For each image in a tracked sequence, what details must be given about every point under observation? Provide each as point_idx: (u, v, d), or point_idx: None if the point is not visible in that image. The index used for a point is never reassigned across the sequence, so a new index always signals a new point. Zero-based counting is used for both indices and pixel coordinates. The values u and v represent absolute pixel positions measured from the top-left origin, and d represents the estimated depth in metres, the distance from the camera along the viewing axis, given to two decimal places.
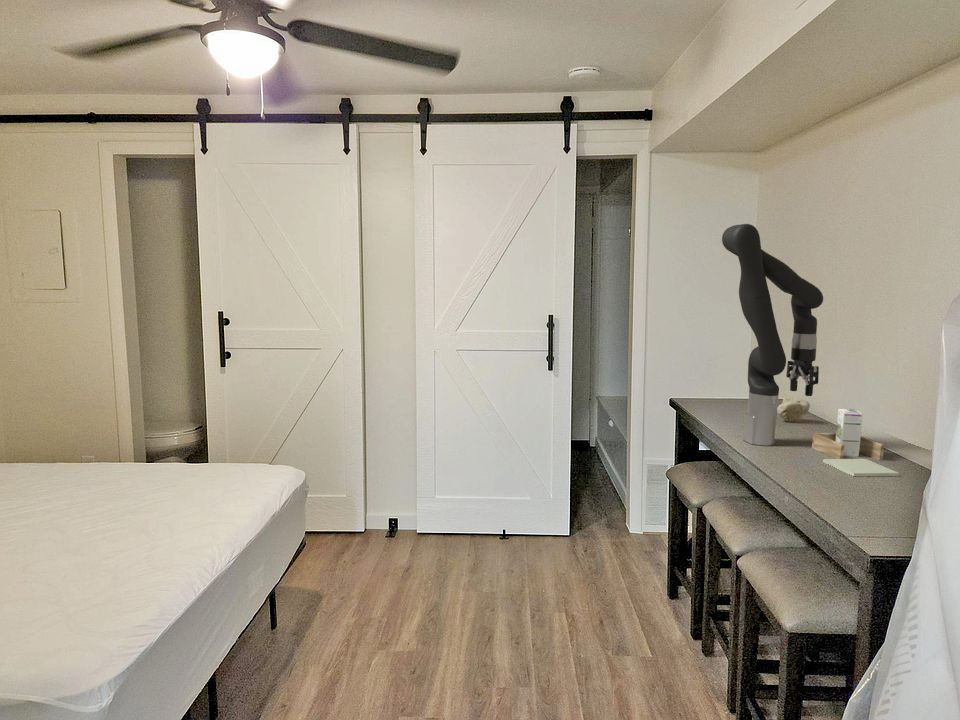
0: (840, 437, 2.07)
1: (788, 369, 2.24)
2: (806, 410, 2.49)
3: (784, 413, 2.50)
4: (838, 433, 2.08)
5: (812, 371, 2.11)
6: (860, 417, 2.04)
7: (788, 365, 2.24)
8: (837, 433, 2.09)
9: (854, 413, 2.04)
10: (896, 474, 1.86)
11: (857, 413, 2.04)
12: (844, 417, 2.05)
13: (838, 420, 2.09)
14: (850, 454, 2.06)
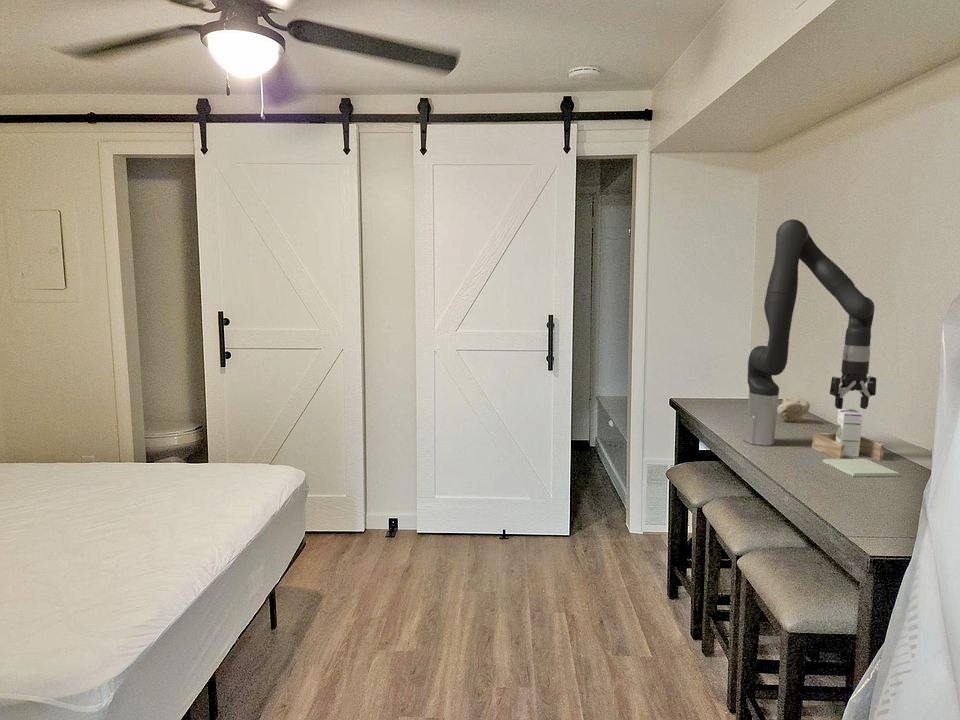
0: (840, 437, 2.07)
1: (837, 387, 2.04)
2: (806, 410, 2.49)
3: (784, 413, 2.50)
4: (838, 433, 2.08)
5: None
6: (860, 417, 2.04)
7: (838, 382, 2.04)
8: (837, 433, 2.09)
9: (854, 413, 2.04)
10: (896, 474, 1.86)
11: (857, 413, 2.04)
12: (844, 417, 2.05)
13: (838, 420, 2.09)
14: (850, 454, 2.06)
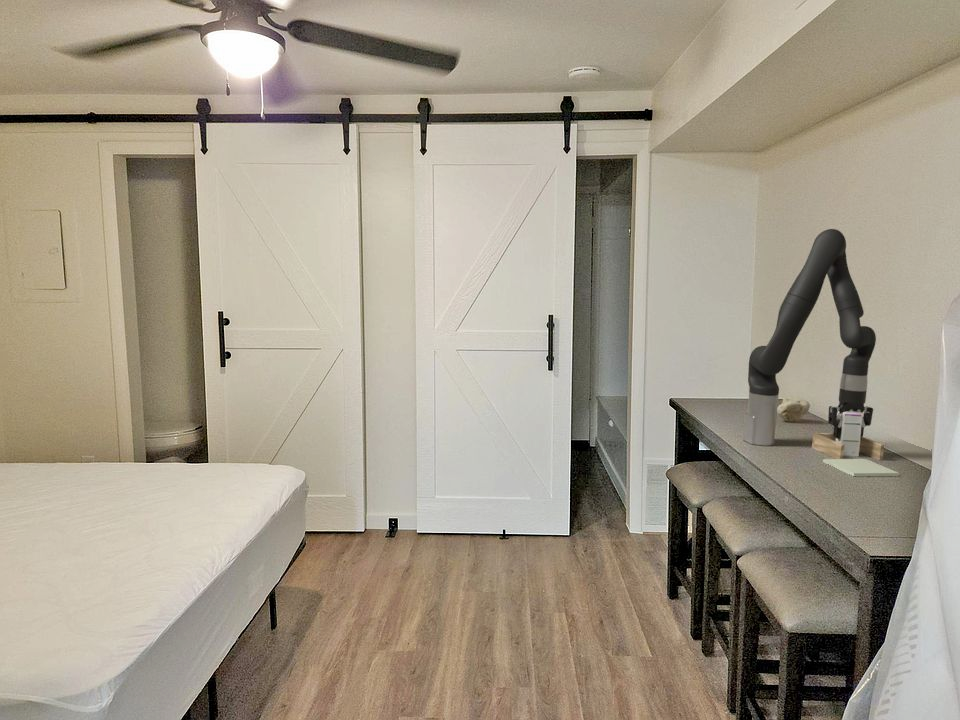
0: None
1: (835, 416, 2.05)
2: (806, 410, 2.49)
3: (784, 413, 2.50)
4: None
5: None
6: (860, 417, 2.04)
7: (835, 412, 2.05)
8: None
9: (854, 413, 2.04)
10: (896, 474, 1.86)
11: (857, 413, 2.04)
12: (844, 417, 2.05)
13: None
14: (850, 454, 2.06)
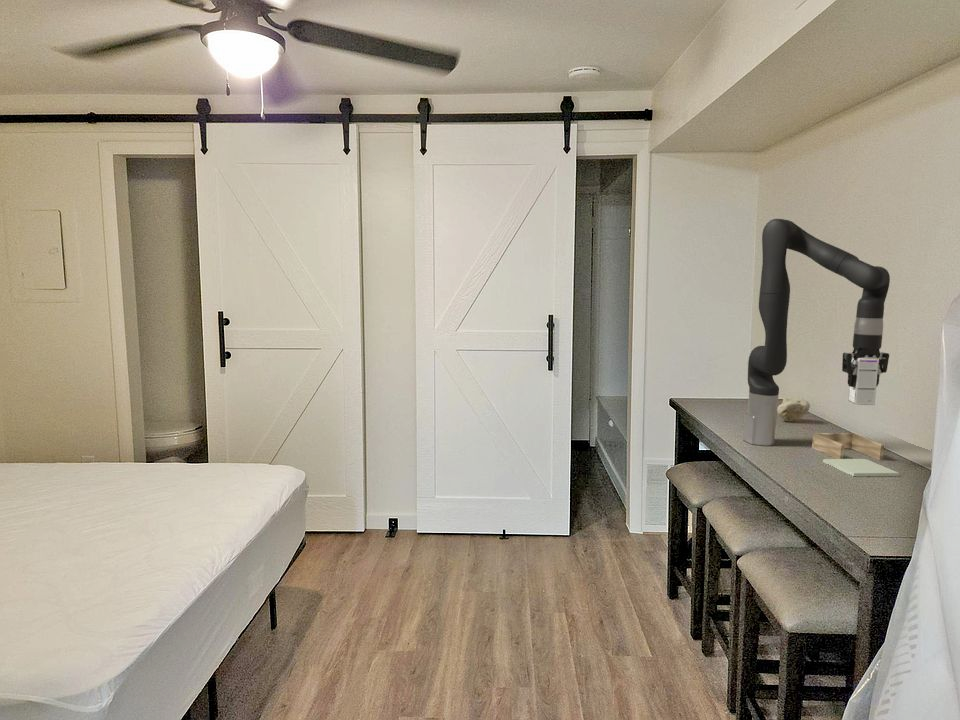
0: None
1: (850, 363, 1.93)
2: (806, 410, 2.49)
3: (784, 413, 2.50)
4: None
5: None
6: (876, 363, 1.92)
7: (849, 358, 1.93)
8: None
9: (870, 359, 1.92)
10: (896, 474, 1.86)
11: (873, 359, 1.92)
12: (859, 364, 1.93)
13: None
14: (866, 403, 1.94)
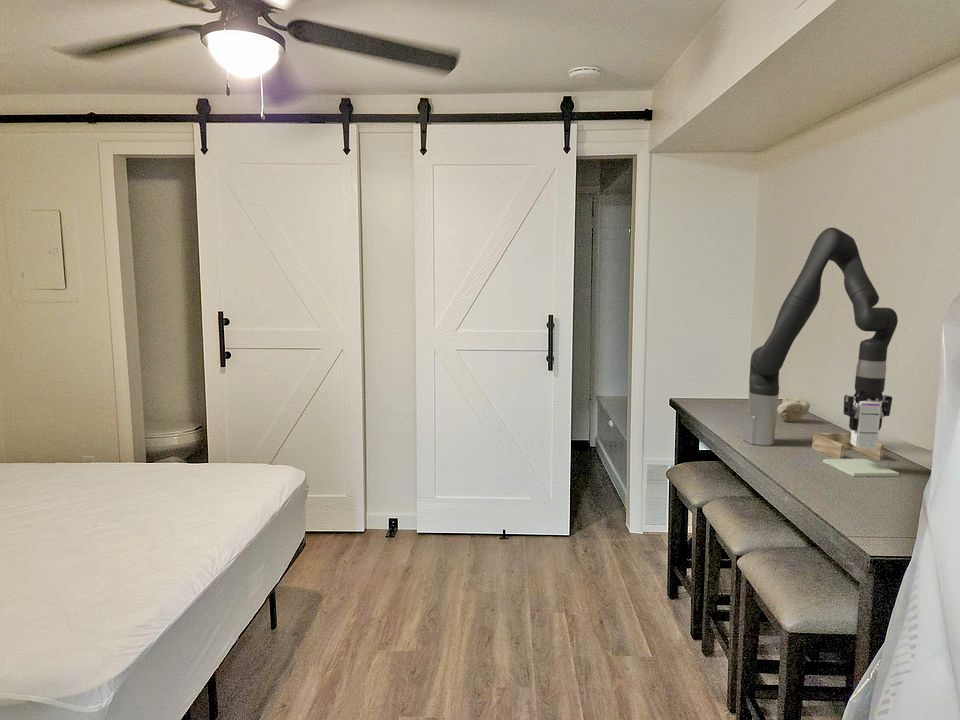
0: (857, 429, 1.89)
1: (851, 406, 1.88)
2: (806, 410, 2.49)
3: (784, 413, 2.50)
4: None
5: None
6: (878, 407, 1.87)
7: (851, 402, 1.88)
8: None
9: (872, 402, 1.87)
10: (896, 474, 1.86)
11: (875, 402, 1.87)
12: (861, 407, 1.88)
13: None
14: (868, 447, 1.89)
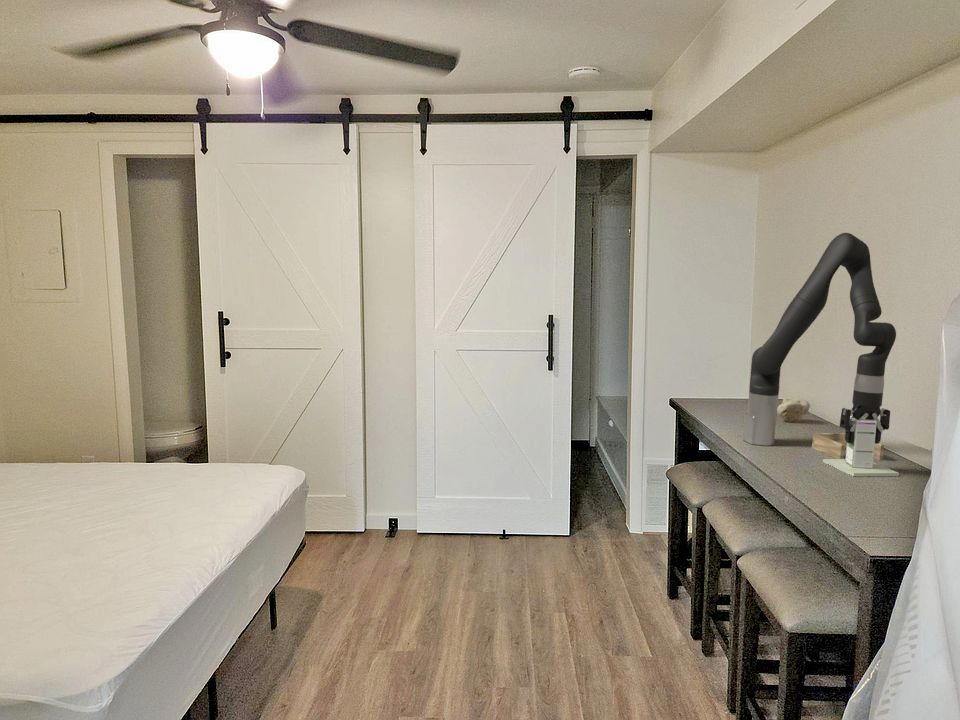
0: (852, 447, 1.90)
1: (848, 419, 1.88)
2: (806, 410, 2.49)
3: (784, 413, 2.50)
4: None
5: None
6: (874, 425, 1.88)
7: (848, 415, 1.88)
8: (848, 443, 1.93)
9: (868, 421, 1.88)
10: (896, 474, 1.86)
11: (871, 421, 1.88)
12: (857, 426, 1.88)
13: None
14: (863, 466, 1.89)
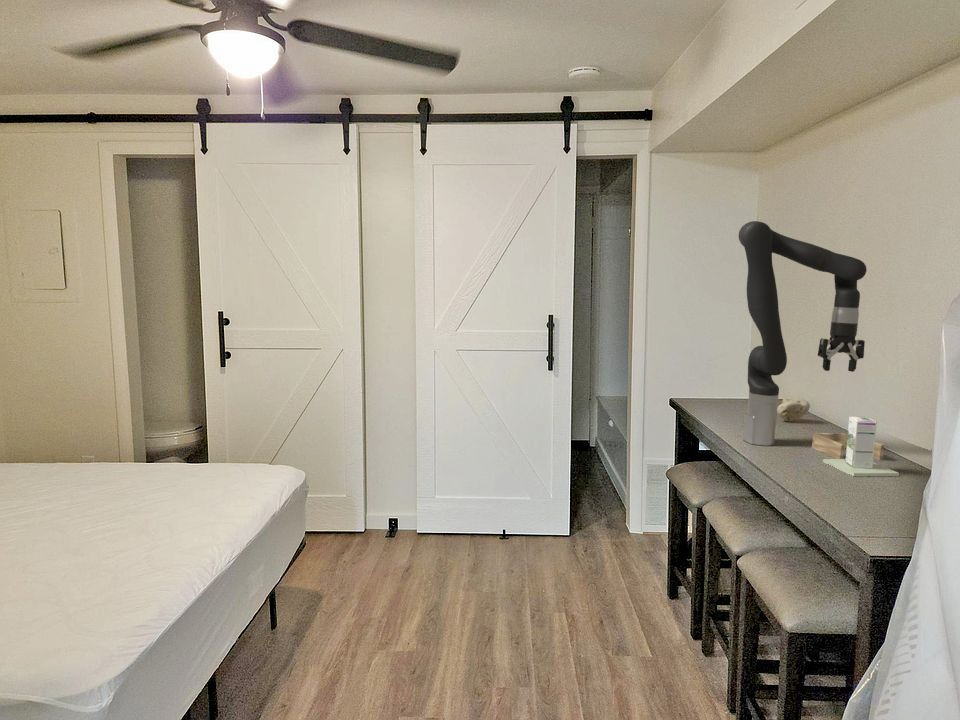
0: (853, 448, 1.90)
1: (825, 348, 2.06)
2: (806, 410, 2.49)
3: (784, 413, 2.50)
4: (850, 443, 1.92)
5: None
6: (874, 426, 1.87)
7: (825, 344, 2.06)
8: (848, 443, 1.93)
9: (868, 422, 1.87)
10: (896, 474, 1.86)
11: (871, 421, 1.87)
12: (857, 427, 1.88)
13: (849, 429, 1.92)
14: (863, 466, 1.89)
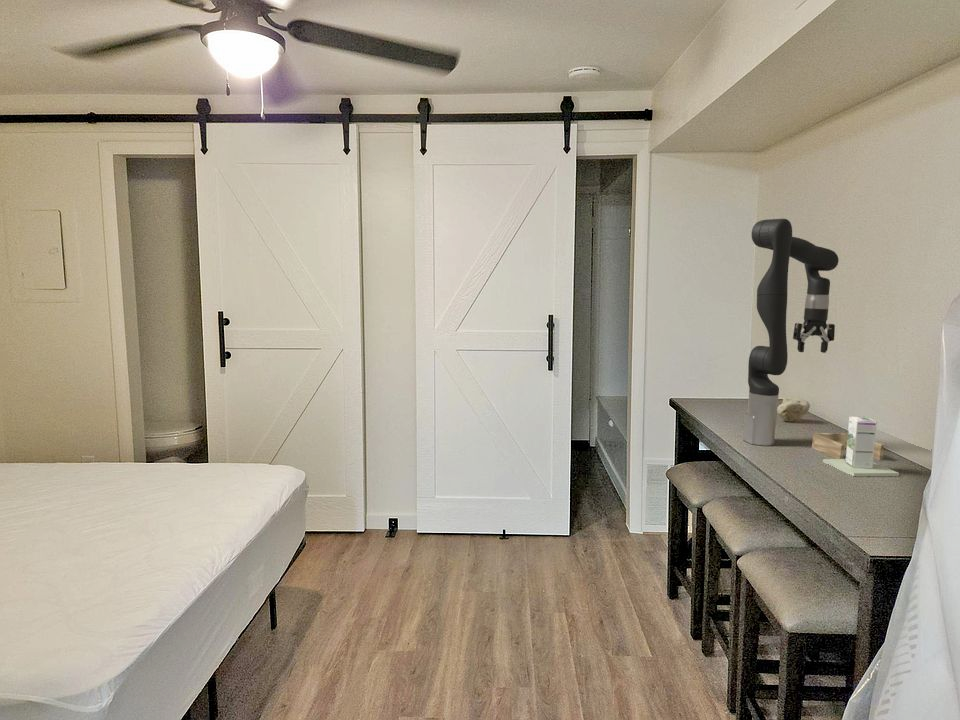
0: (853, 448, 1.90)
1: (799, 331, 2.27)
2: (806, 410, 2.49)
3: (784, 413, 2.50)
4: (850, 443, 1.92)
5: None
6: (874, 426, 1.87)
7: (800, 328, 2.27)
8: (848, 443, 1.93)
9: (868, 422, 1.87)
10: (896, 474, 1.86)
11: (871, 421, 1.87)
12: (857, 427, 1.88)
13: (849, 429, 1.92)
14: (863, 466, 1.89)
